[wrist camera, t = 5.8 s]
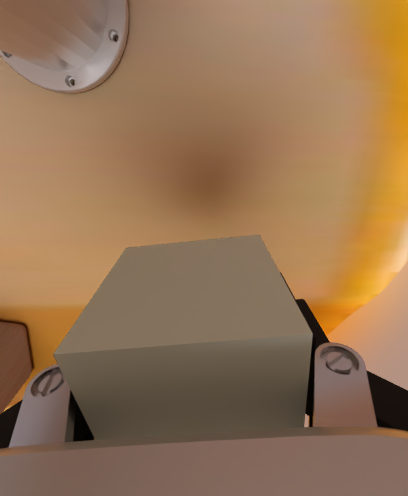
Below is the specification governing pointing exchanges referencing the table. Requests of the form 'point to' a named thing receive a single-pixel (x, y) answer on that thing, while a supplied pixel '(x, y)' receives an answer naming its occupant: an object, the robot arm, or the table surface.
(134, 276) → the sage block
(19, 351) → the block
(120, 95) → the table surface
